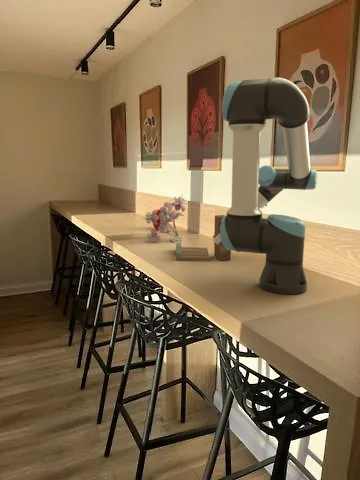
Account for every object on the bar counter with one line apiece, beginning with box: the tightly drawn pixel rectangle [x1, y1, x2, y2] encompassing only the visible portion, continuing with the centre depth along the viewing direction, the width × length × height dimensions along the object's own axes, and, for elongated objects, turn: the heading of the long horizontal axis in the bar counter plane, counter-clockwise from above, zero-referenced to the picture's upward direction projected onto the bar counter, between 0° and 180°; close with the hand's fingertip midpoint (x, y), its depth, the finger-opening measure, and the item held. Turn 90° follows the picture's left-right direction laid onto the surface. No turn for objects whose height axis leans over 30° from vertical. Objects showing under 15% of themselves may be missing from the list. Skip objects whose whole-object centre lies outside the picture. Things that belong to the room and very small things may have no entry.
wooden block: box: [213, 214, 232, 262], centre depth 161 cm, size 9×4×18 cm, turn 13°
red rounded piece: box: [151, 208, 163, 231], centre depth 233 cm, size 10×10×14 cm
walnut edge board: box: [175, 236, 210, 262], centre depth 168 cm, size 20×14×6 cm
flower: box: [142, 194, 186, 244], centre depth 198 cm, size 20×22×25 cm
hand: (214, 240), depth 164 cm, fingers open, 6 cm apart
